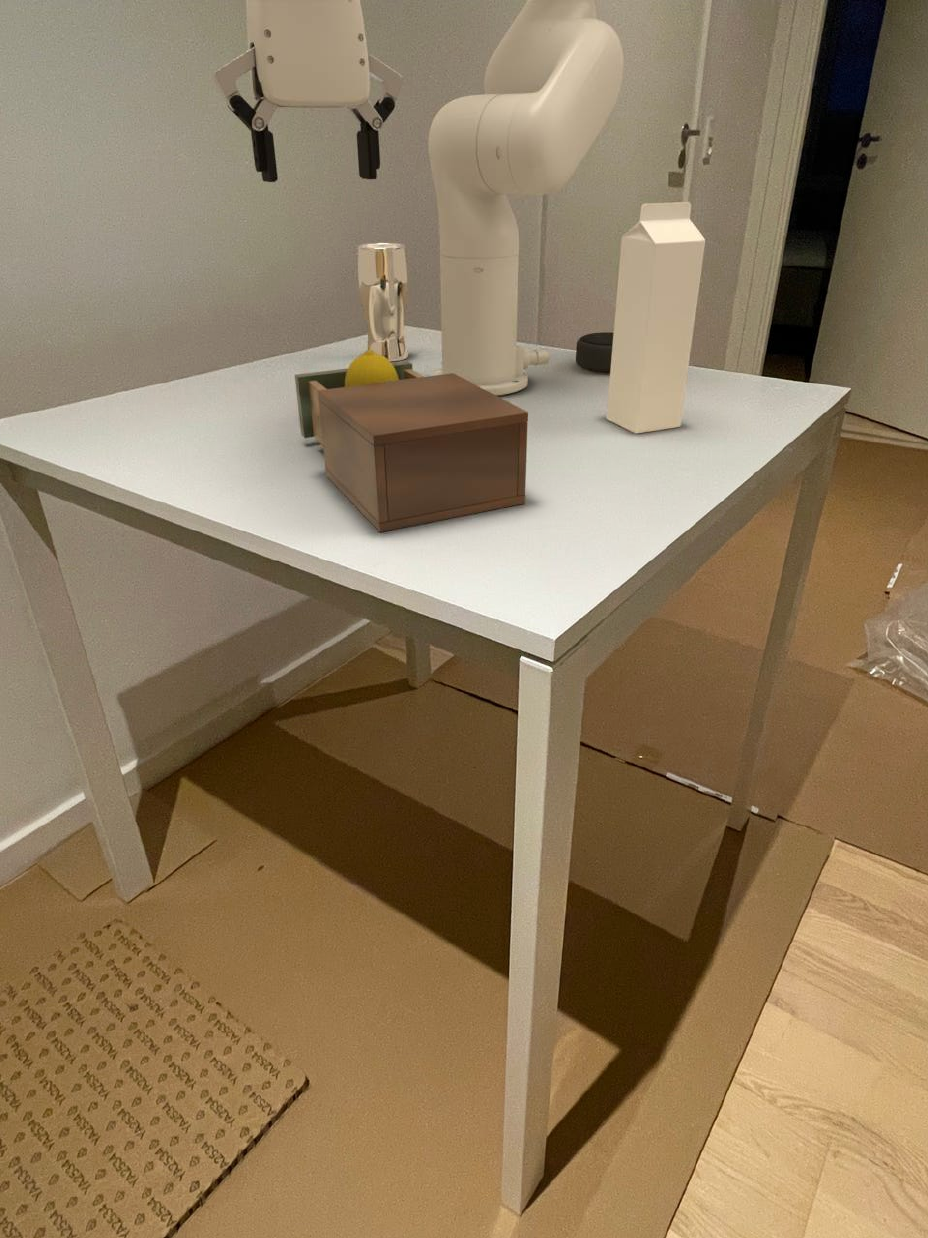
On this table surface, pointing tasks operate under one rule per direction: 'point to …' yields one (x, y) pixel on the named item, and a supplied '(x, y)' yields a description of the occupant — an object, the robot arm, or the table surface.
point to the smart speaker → (595, 352)
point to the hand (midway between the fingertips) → (320, 179)
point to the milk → (654, 318)
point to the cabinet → (423, 449)
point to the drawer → (328, 380)
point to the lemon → (370, 370)
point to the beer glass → (384, 297)
